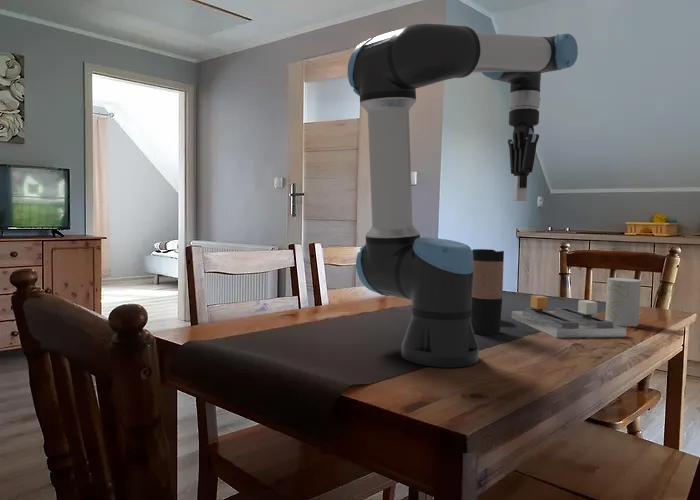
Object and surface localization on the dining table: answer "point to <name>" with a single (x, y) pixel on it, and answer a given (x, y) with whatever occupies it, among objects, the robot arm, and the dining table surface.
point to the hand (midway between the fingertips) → (520, 200)
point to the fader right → (587, 308)
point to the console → (568, 323)
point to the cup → (623, 301)
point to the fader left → (539, 303)
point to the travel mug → (487, 291)
